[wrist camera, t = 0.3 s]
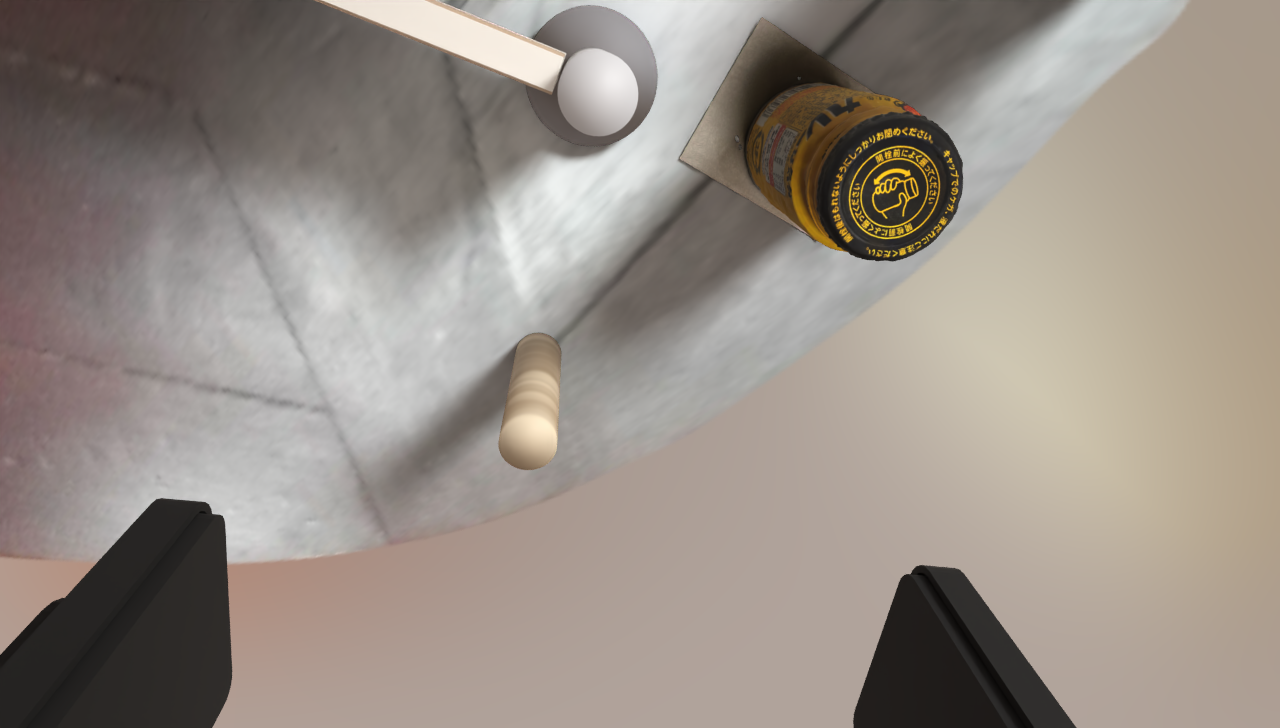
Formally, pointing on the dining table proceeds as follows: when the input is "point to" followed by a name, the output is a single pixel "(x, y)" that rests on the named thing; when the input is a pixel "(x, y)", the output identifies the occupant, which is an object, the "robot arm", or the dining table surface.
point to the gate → (514, 58)
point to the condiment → (827, 152)
